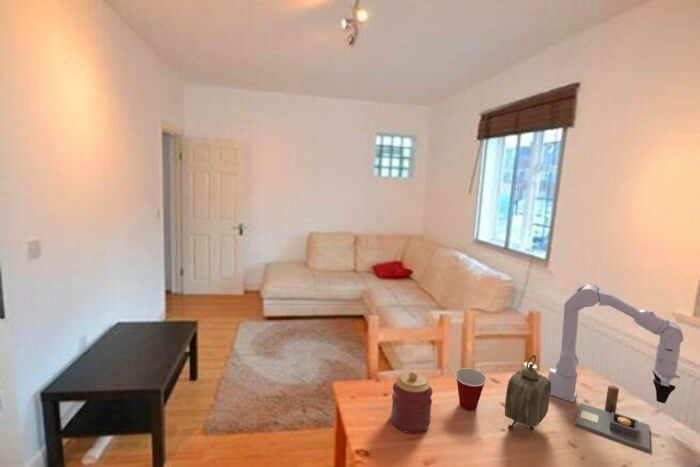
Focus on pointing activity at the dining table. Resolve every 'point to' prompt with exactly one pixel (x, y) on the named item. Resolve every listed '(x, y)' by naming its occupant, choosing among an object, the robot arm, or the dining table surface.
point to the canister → (411, 402)
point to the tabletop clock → (527, 397)
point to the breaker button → (624, 421)
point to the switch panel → (613, 426)
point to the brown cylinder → (611, 399)
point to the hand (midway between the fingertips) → (660, 397)
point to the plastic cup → (469, 387)
